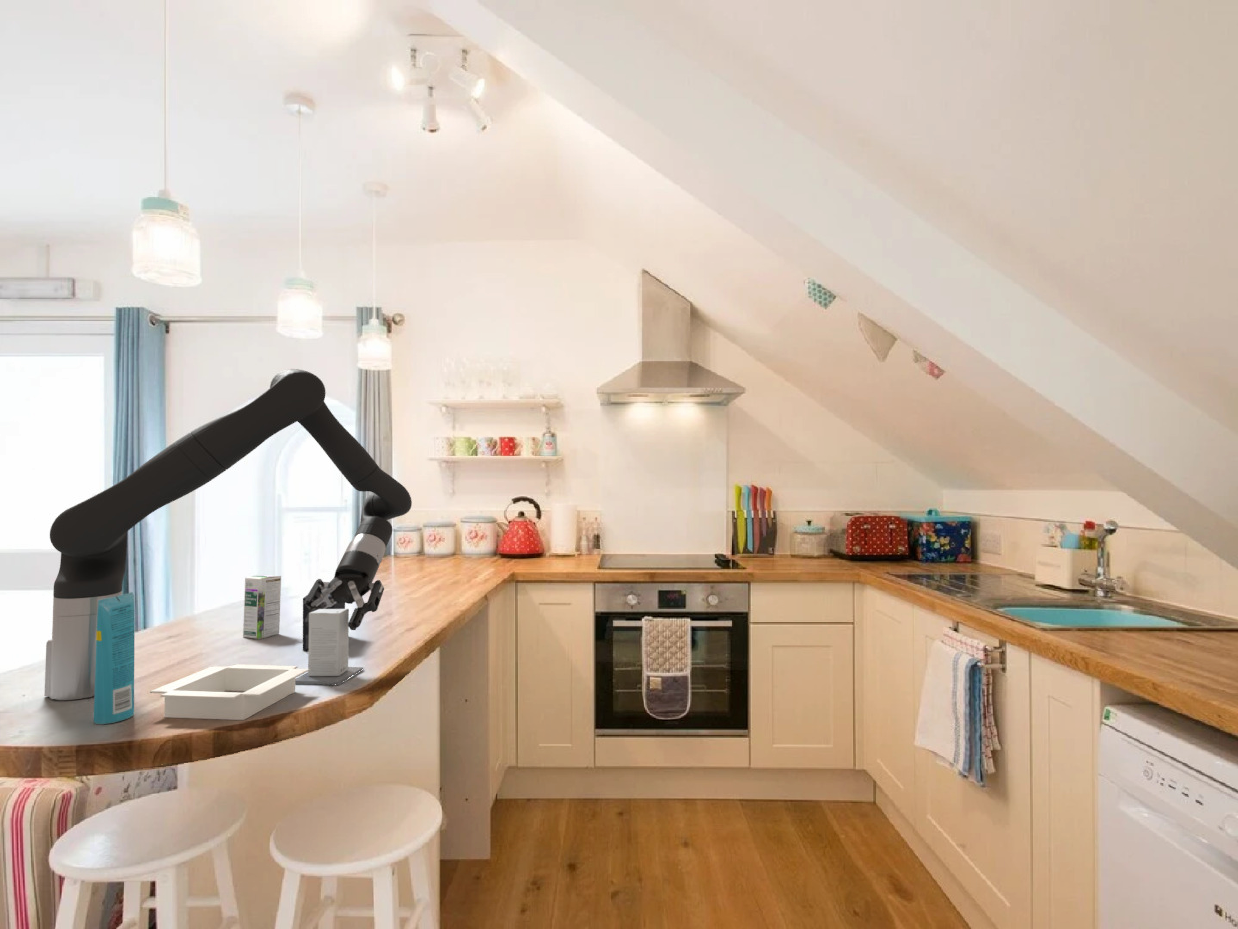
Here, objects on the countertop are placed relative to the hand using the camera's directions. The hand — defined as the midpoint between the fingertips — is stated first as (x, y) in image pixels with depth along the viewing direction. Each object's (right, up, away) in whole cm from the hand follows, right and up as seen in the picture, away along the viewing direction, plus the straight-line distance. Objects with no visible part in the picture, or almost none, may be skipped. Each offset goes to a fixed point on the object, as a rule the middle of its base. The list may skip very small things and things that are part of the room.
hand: (330, 627), depth 116 cm
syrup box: (-32, -11, +31) cm, 46 cm away
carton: (-9, -9, -15) cm, 19 cm away
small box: (-13, -11, +25) cm, 30 cm away
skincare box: (0, -9, 0) cm, 9 cm away
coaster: (0, -9, 0) cm, 9 cm away
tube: (-24, -9, -22) cm, 33 cm away
